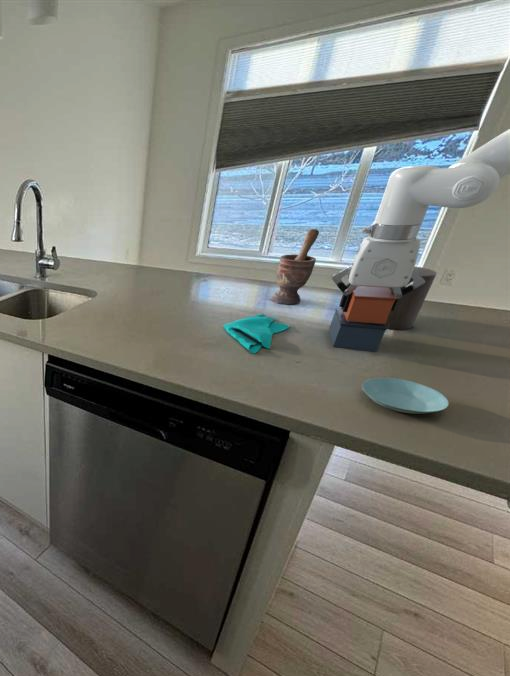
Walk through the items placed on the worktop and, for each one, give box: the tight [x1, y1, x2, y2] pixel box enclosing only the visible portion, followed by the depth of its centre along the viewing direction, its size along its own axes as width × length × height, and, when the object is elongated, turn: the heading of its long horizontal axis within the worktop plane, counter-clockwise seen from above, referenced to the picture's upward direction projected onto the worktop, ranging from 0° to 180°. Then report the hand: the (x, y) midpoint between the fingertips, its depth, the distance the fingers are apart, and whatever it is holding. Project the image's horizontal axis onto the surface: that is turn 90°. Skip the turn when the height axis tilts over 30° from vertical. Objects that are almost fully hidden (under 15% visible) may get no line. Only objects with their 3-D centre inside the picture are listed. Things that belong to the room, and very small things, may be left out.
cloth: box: [223, 313, 291, 355], centre depth 106 cm, size 26×14×2 cm, turn 132°
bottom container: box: [328, 307, 388, 353], centre depth 97 cm, size 8×11×6 cm
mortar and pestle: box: [271, 228, 320, 305], centre depth 120 cm, size 12×9×20 cm
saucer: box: [361, 377, 450, 415], centre depth 75 cm, size 12×12×2 cm
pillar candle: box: [385, 266, 438, 331], centre depth 101 cm, size 10×10×15 cm
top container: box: [344, 286, 396, 324], centre depth 93 cm, size 7×9×6 cm
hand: (364, 311), depth 94 cm, fingers closed on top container, 6 cm apart
